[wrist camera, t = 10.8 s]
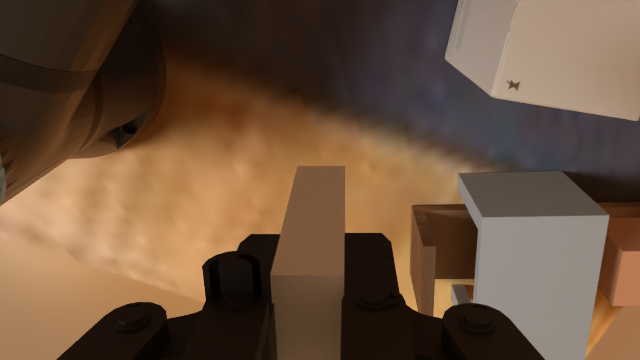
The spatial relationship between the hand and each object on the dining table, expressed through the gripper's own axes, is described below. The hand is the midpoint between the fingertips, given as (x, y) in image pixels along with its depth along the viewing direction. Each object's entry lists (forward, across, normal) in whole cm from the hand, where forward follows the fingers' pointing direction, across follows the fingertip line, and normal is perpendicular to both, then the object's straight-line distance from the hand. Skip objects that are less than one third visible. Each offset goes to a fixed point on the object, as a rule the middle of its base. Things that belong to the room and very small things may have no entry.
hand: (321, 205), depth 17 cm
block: (+28, +25, -16) cm, 41 cm away
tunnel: (+29, +15, -16) cm, 37 cm away
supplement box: (+30, +14, +4) cm, 33 cm away
